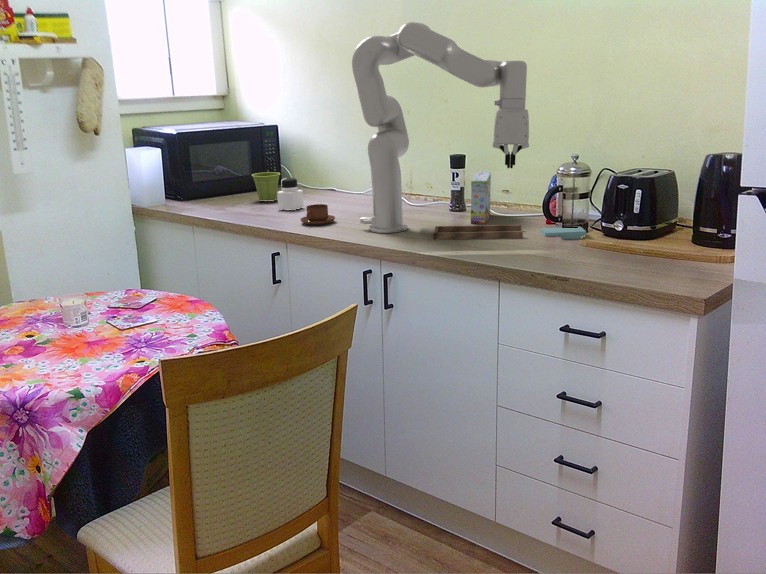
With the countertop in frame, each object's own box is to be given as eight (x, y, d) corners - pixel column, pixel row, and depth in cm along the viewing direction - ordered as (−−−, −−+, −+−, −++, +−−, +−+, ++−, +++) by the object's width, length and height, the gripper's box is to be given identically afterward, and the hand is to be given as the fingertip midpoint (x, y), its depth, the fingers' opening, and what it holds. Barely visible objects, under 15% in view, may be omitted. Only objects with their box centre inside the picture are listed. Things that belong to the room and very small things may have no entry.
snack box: (487, 227, 240) (487, 180, 236) (470, 227, 241) (469, 180, 237) (491, 214, 260) (491, 171, 256) (475, 215, 261) (475, 171, 257)
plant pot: (250, 203, 306) (247, 176, 303) (259, 198, 317) (256, 172, 314) (277, 203, 304) (275, 175, 301) (286, 198, 315) (283, 171, 312)
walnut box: (434, 242, 222) (433, 233, 221) (436, 235, 232) (435, 226, 231) (522, 241, 218) (522, 231, 218) (520, 233, 228) (520, 224, 227)
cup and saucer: (330, 227, 253) (329, 209, 251) (296, 227, 255) (295, 209, 253) (339, 220, 264) (338, 202, 262) (306, 220, 266) (305, 203, 264)
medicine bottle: (304, 208, 290) (301, 177, 286) (292, 211, 284) (290, 180, 281) (289, 207, 293) (287, 176, 290) (278, 210, 288) (275, 179, 284)
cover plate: (545, 241, 219) (545, 233, 218) (540, 236, 226) (540, 228, 225) (586, 239, 219) (586, 231, 218) (580, 234, 225) (580, 226, 225)
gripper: (486, 105, 215) (484, 169, 221) (539, 105, 213) (536, 169, 219) (486, 104, 222) (484, 165, 228) (537, 104, 220) (534, 166, 226)
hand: (509, 167), depth 223 cm, fingers closed
